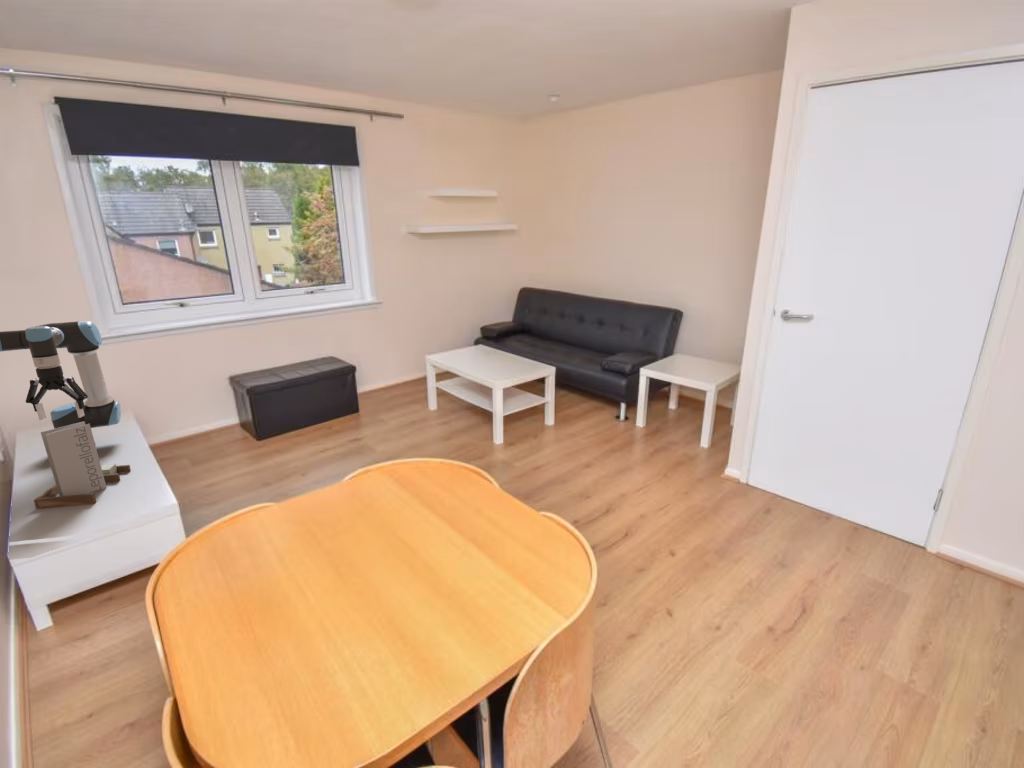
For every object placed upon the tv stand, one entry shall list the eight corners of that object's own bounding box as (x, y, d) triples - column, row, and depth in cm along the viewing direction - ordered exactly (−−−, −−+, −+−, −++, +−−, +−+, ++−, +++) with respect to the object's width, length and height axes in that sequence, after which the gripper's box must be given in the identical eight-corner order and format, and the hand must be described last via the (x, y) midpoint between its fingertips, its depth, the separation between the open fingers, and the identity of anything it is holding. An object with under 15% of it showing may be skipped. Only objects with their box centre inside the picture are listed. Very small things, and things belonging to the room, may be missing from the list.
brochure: (65, 503, 204) (45, 435, 195) (60, 499, 206) (40, 432, 198) (106, 488, 215) (89, 423, 206) (101, 485, 218) (84, 421, 209)
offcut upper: (86, 473, 224) (84, 467, 223) (117, 470, 227) (115, 463, 226) (79, 478, 219) (77, 472, 218) (110, 475, 222) (109, 469, 221)
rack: (80, 476, 226) (78, 468, 225) (131, 472, 230) (129, 464, 229) (36, 508, 199) (33, 499, 198) (94, 503, 203) (92, 494, 202)
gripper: (3, 370, 189) (19, 423, 195) (78, 367, 193) (91, 418, 199) (18, 365, 196) (33, 416, 202) (90, 362, 200) (102, 412, 206)
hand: (62, 417), depth 201 cm, fingers open, 13 cm apart
